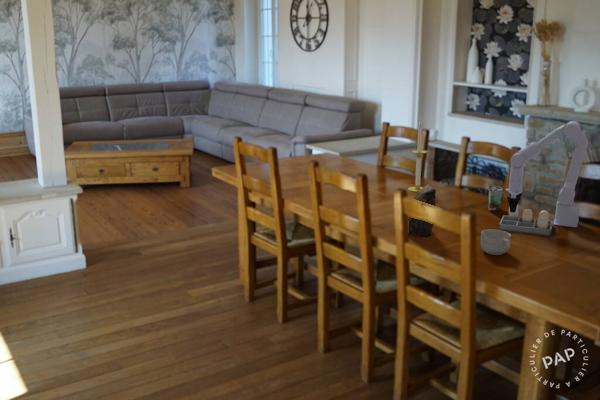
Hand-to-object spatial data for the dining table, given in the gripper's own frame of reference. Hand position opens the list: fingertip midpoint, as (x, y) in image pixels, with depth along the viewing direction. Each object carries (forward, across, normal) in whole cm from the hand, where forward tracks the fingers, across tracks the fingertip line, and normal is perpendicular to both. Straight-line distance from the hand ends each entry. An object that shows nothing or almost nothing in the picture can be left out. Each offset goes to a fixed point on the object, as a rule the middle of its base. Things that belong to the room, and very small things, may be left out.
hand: (513, 209), depth 283 cm
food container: (+4, -11, -9) cm, 15 cm away
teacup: (+4, +50, -1) cm, 50 cm away
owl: (+4, +36, -34) cm, 50 cm away
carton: (+3, +14, +7) cm, 15 cm away
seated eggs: (+3, +14, +10) cm, 17 cm away
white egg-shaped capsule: (+4, 0, 0) cm, 4 cm away
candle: (+4, -32, -51) cm, 60 cm away
